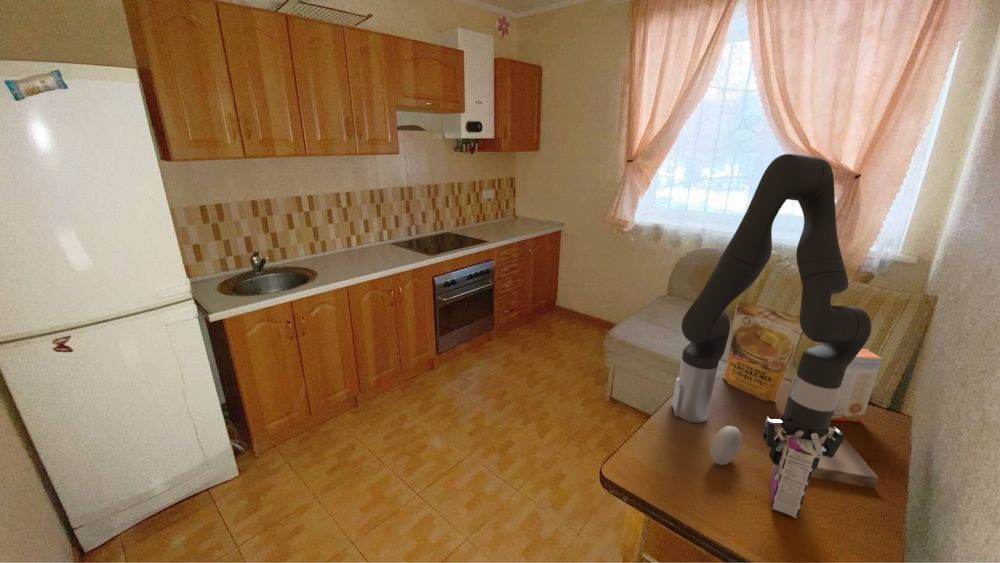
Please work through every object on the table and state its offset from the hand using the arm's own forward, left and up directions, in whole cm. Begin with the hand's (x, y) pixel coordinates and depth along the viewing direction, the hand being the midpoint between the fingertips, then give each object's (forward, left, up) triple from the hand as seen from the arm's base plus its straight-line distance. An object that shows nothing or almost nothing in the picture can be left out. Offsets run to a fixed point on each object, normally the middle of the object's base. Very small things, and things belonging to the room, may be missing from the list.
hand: (791, 465), depth 85 cm
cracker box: (+26, +38, -10) cm, 47 cm away
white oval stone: (-10, +9, -10) cm, 16 cm away
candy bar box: (0, 0, -9) cm, 9 cm away
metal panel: (+14, +17, -9) cm, 24 cm away
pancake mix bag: (+8, +47, -10) cm, 48 cm away
